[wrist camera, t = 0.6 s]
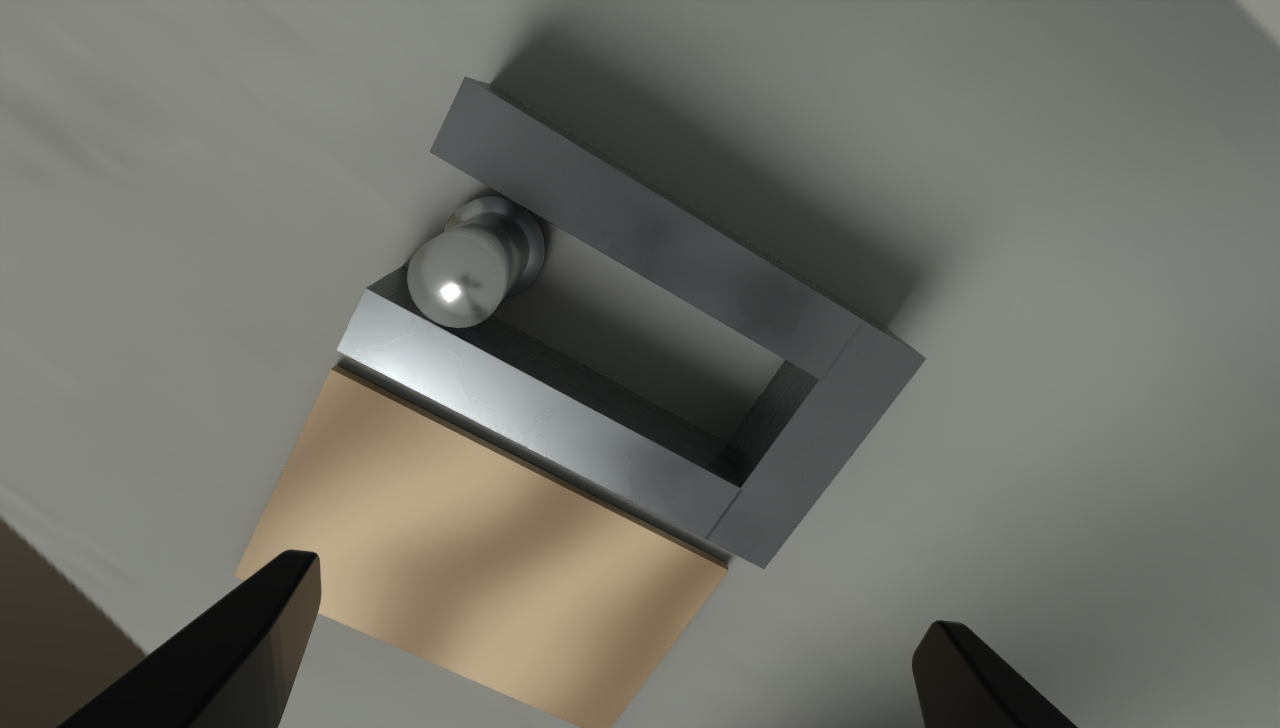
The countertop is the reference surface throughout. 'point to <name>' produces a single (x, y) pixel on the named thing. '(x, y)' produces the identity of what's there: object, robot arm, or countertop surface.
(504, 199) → the post
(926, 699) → the robot arm
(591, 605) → the mat
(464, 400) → the metal u-shaped bracket
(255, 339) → the countertop surface
